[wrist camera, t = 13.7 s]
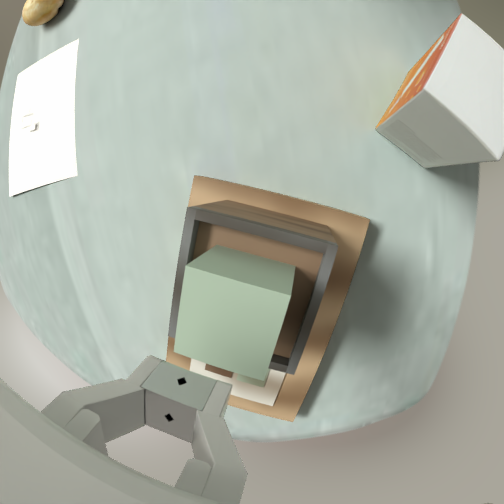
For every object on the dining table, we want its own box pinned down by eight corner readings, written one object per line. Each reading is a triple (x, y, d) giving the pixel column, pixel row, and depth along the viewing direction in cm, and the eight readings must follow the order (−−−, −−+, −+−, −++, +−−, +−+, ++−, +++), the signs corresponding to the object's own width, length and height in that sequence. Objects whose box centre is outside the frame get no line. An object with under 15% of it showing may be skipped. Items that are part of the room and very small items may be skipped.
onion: (75, 1, 25) (47, -14, 18) (42, 37, 27) (13, 26, 20) (65, -14, 24) (40, -28, 17) (35, 19, 26) (9, 9, 20)
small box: (407, 71, 22) (461, 10, 9) (456, 110, 21) (531, 76, 9) (371, 130, 24) (421, 88, 11) (423, 170, 24) (502, 164, 11)
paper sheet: (24, 62, 29) (20, 61, 28) (172, 8, 25) (169, 4, 24) (8, 196, 34) (3, 197, 33) (152, 191, 30) (147, 191, 29)
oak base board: (201, 176, 28) (142, 172, 17) (365, 217, 26) (401, 237, 15) (170, 373, 34) (129, 429, 23) (293, 411, 32) (285, 481, 21)
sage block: (216, 244, 18) (185, 265, 13) (295, 265, 18) (291, 295, 13) (203, 314, 20) (173, 351, 15) (274, 335, 19) (263, 381, 14)
